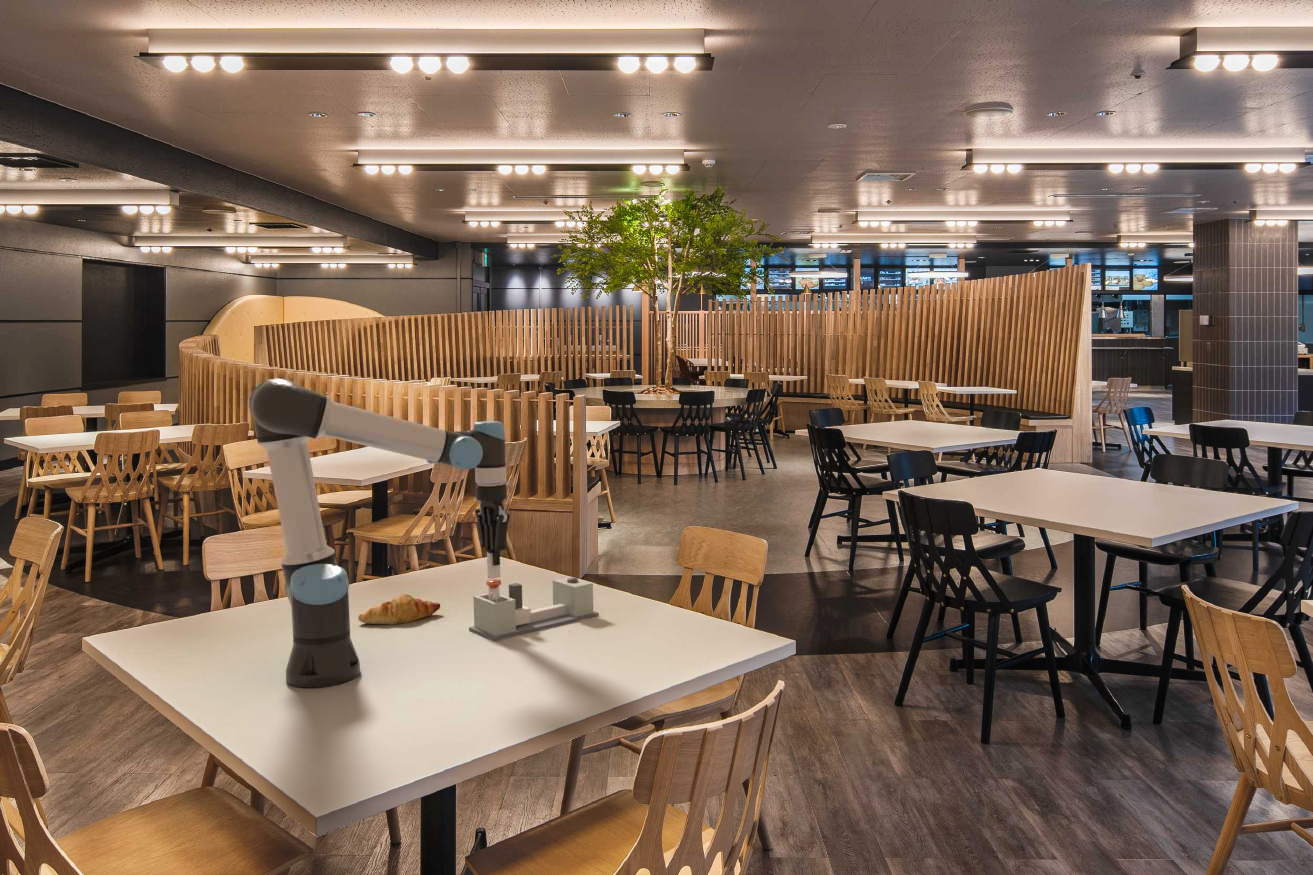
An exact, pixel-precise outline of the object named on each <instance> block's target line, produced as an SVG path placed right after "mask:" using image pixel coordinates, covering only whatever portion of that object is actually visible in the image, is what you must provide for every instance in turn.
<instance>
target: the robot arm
mask: <svg viewBox="0 0 1313 875" xmlns="http://www.w3.org/2000/svg"><path fill="white" fill-rule="evenodd" d="M248 402H249V404H248V405H249V407H248V408H249V411H250V415H251V416H252V420H253V425H254V431H255V435H256V440H257V444H258V445H260V446H261V447H263V448H264V449H265V450H266V453H267V457H268V458H267V459H268V463H269V469H270V473H271V479H272V484H273V490H274V494H275V500H276V504H277V510H278V515H279V519H280V525H281V531H282V535H283V536H282V537H283V540H284V547H285V551H286V552H285V555H284V556H283V558H282V559H281V561H280V563H281V568H282V573H283V579H284V591H285V594H286V597H287V599H288V601H289V603H290V608H291V609H290V610H291V621H292V637H293V638H292V639H293V640H292V649H291V651H290V655H289V658H288V662H287V664H286V668H285V679H286V680H285V681H286V683H287V684H289V685H291V686H293V687H298V688H323V687H329V686H335V685H338V684H339V685H340V684H342V683H346V682H348V681H351V680H353V679H354V678H356V677H358V676H359V674H360V673H361V665H360V664H361V663H360V659H359V656H358V653H357V651H356V649H355V646H354V644H353V641H352V638H351V624H350V621H351V620H350V601H349V589H350V588H349V587H350V582H349V578H348V572H347V571H346V569H345V568H344V567H341V566H339V565H338V564H337V563H338V561H337V558H336V551H335V549H334V548H332V547H331V546H329V545H328V544H327V542H326V537H325V530H324V526H323V521H322V515H321V509H320V504H319V499H318V493H317V488H316V482H315V477H314V472H313V467H312V462H311V456H310V452H309V446H308V443H309V440H310V439H311V438H312V439H315V440H317V439H319V438H321V437H323V436H324V437H327V438H332V439H336V440H340V441H344V442H345V441H346V442H349V443H354V444H357V445H362V446H366V447H370V448H374V449H379V450H383V451H387V452H392V453H396V454H400V455H404V456H409V457H413V458H416V459H421V460H426V462H427V463H428V464H438V465H446V466H450V467H454V468H456V469H459V470H463V471H467V470H471V469H474V470H475V471H474V474H475V475H474V476H475V477H474V478H475V483H476V486H475V498H476V499H475V500H476V501H479V502H480V505H479V506H480V507H479V508H476V509H475V510H474V514H475V517H476V519H477V520H476V521H477V524H478V525H477V526H478V534H479V539H480V540H479V541H480V546H481V548H482V549H485V550H484V551H485V553H486V563H487V578H488V579H489V580H492V579H498V578H501V552H502V551H505V550H506V547H507V546H506V544H507V534H508V525H509V522H510V518H511V515H510V514H509V513H506V512H505V511H504V509H505V508H504V503H503V502H504V500H506V499H507V498H508V491H507V490H508V488H507V484H506V481H507V469H506V468H507V467H506V466H507V465H506V441H507V440H506V431H505V425H504V423H503V422H502V421H498V420H496V421H495V420H483V421H476V422H474V423H473V428H472V429H469V430H464V431H463V430H460V431H456V430H455V431H449V430H445V429H440V428H438V427H433V426H430V425H427V424H426V425H425V424H421V423H417V422H414V421H409V420H406V419H401V418H398V417H394V416H390V415H386V414H382V413H379V412H374V411H370V410H367V409H363V408H358V407H355V406H352V405H347V404H342V403H340V402H336V401H332V399H331V398H330V397H329V395H328V394H324V393H320V392H318V391H317V392H316V391H314V390H312V389H308V388H306V387H304V386H301V385H300V384H298V383H296V382H295V381H292V380H289V379H287V378H282V377H281V378H280V377H279V378H271V379H266V380H265V381H263V382H261V383H260V384H258V385H257V386H256V387H255V388H254V389H253V391H252V393H251V395H250V398H249V401H248Z"/></svg>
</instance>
